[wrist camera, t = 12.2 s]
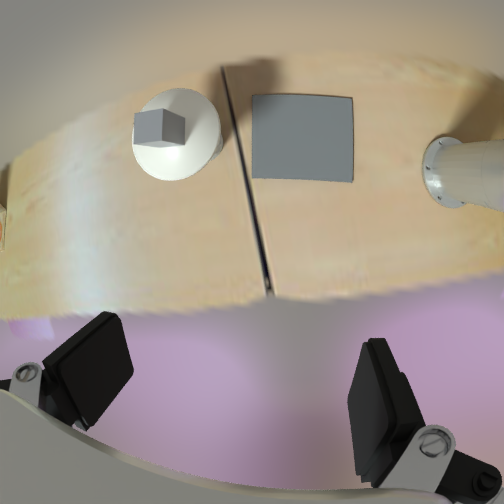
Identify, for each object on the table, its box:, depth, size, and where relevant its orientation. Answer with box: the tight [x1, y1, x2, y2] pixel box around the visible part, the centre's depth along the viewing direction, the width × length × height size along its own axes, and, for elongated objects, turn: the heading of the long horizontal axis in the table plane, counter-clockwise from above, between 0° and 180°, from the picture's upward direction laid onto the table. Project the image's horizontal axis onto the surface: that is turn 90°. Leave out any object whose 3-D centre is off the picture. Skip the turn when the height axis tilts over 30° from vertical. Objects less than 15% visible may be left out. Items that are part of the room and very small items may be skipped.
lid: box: [132, 88, 221, 180], centre depth 28 cm, size 12×12×7 cm
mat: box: [252, 95, 353, 183], centre depth 40 cm, size 16×14×1 cm
